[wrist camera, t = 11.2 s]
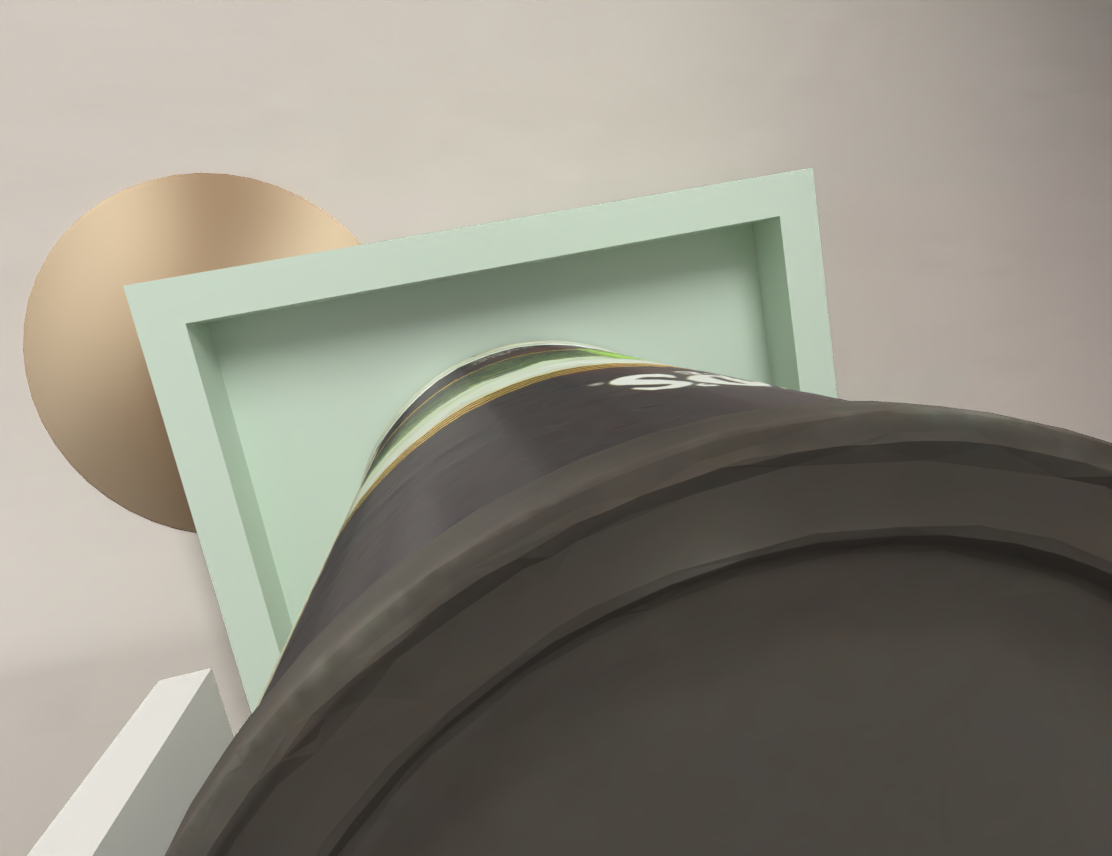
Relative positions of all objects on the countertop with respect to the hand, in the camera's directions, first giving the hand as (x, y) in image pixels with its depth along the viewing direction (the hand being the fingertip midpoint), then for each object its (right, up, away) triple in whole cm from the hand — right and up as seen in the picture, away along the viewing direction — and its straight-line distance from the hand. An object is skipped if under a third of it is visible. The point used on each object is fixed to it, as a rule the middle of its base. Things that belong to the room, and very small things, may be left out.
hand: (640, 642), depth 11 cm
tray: (-2, +1, +8) cm, 8 cm away
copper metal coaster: (-10, +5, +6) cm, 13 cm away
